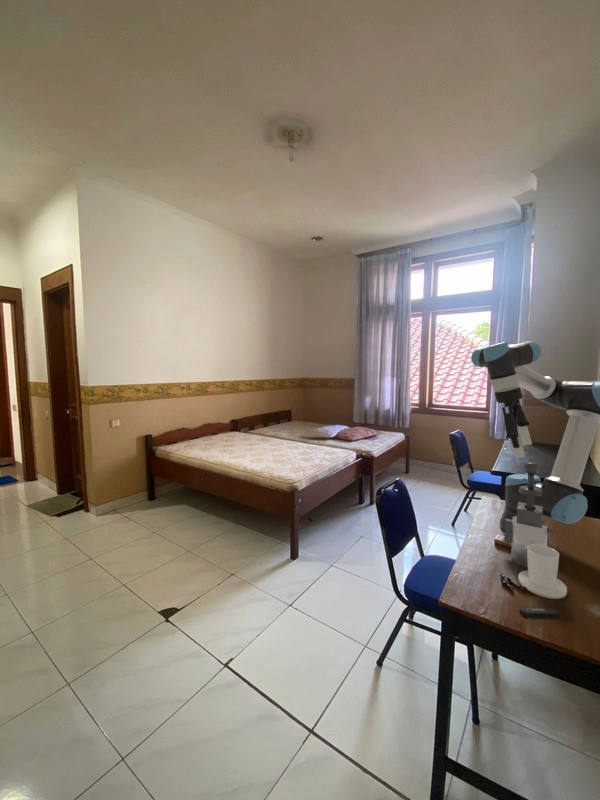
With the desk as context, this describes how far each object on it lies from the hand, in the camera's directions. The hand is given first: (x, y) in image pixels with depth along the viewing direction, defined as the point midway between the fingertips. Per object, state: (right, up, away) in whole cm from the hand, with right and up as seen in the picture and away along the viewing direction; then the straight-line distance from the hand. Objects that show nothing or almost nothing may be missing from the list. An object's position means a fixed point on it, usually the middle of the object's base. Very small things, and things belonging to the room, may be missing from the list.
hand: (523, 450), depth 110 cm
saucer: (0, -40, -8) cm, 41 cm away
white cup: (0, -39, -9) cm, 40 cm away
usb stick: (-10, -42, -20) cm, 47 cm away
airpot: (+5, -39, +5) cm, 40 cm away
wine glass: (+5, -21, +4) cm, 21 cm away
